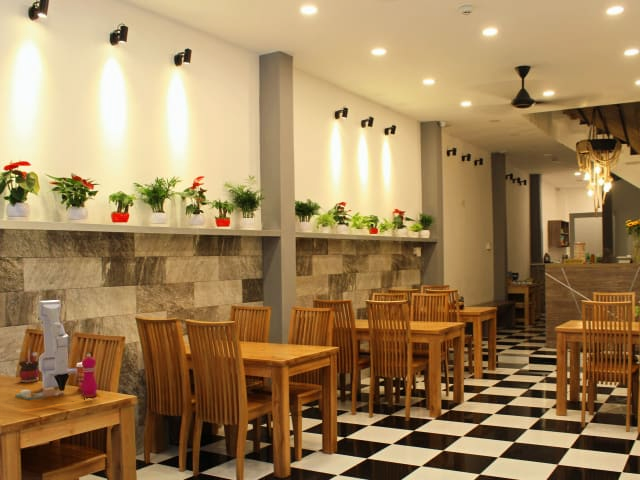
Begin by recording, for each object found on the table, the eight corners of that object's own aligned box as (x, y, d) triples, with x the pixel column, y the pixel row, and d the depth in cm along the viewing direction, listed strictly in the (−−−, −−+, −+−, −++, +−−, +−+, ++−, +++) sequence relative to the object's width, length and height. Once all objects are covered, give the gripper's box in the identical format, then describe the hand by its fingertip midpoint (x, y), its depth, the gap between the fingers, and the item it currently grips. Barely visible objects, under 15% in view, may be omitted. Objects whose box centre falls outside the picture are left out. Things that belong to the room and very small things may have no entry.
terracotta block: (51, 393, 322) (51, 387, 322) (55, 394, 319) (55, 388, 319) (42, 395, 319) (42, 388, 319) (46, 396, 316) (46, 389, 316)
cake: (15, 382, 365) (14, 348, 366) (25, 379, 375) (24, 346, 375) (33, 382, 364) (33, 348, 364) (43, 379, 373) (43, 346, 373)
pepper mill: (101, 396, 321) (100, 352, 322) (91, 399, 314) (90, 355, 315) (88, 395, 324) (87, 352, 324) (77, 398, 317) (77, 354, 317)
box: (30, 397, 323) (30, 391, 323) (44, 400, 314) (44, 395, 314) (15, 399, 318) (15, 394, 318) (29, 403, 308) (29, 397, 308)
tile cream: (26, 389, 320) (20, 390, 317) (30, 390, 317) (24, 391, 315) (26, 398, 319) (20, 399, 317) (31, 399, 317) (24, 400, 315)
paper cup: (73, 392, 331) (72, 363, 332) (84, 390, 338) (83, 361, 339) (86, 393, 328) (85, 364, 329) (97, 390, 336) (96, 361, 336)
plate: (50, 394, 330) (50, 390, 330) (64, 397, 321) (64, 394, 321) (30, 397, 323) (30, 394, 323) (44, 400, 314) (44, 397, 314)
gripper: (50, 364, 316) (51, 393, 316) (80, 360, 327) (80, 389, 327) (43, 362, 321) (43, 392, 321) (72, 358, 332) (73, 387, 331)
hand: (61, 390), depth 324 cm, fingers closed
